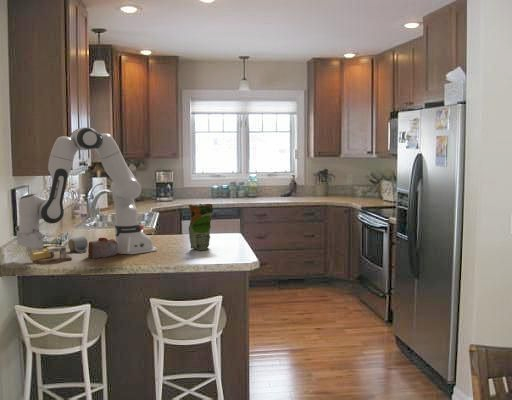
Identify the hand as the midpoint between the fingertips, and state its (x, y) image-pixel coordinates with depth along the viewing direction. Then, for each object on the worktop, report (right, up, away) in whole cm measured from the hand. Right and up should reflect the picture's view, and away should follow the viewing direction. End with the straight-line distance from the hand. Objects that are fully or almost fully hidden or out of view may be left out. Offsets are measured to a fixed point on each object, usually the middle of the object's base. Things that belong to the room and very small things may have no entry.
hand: (30, 256), depth 268 cm
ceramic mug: (+15, 0, +27) cm, 31 cm away
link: (+5, -1, +3) cm, 6 cm away
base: (+8, -2, +6) cm, 10 cm away
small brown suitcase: (+31, -2, +13) cm, 34 cm away
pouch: (+79, 0, +30) cm, 85 cm away
